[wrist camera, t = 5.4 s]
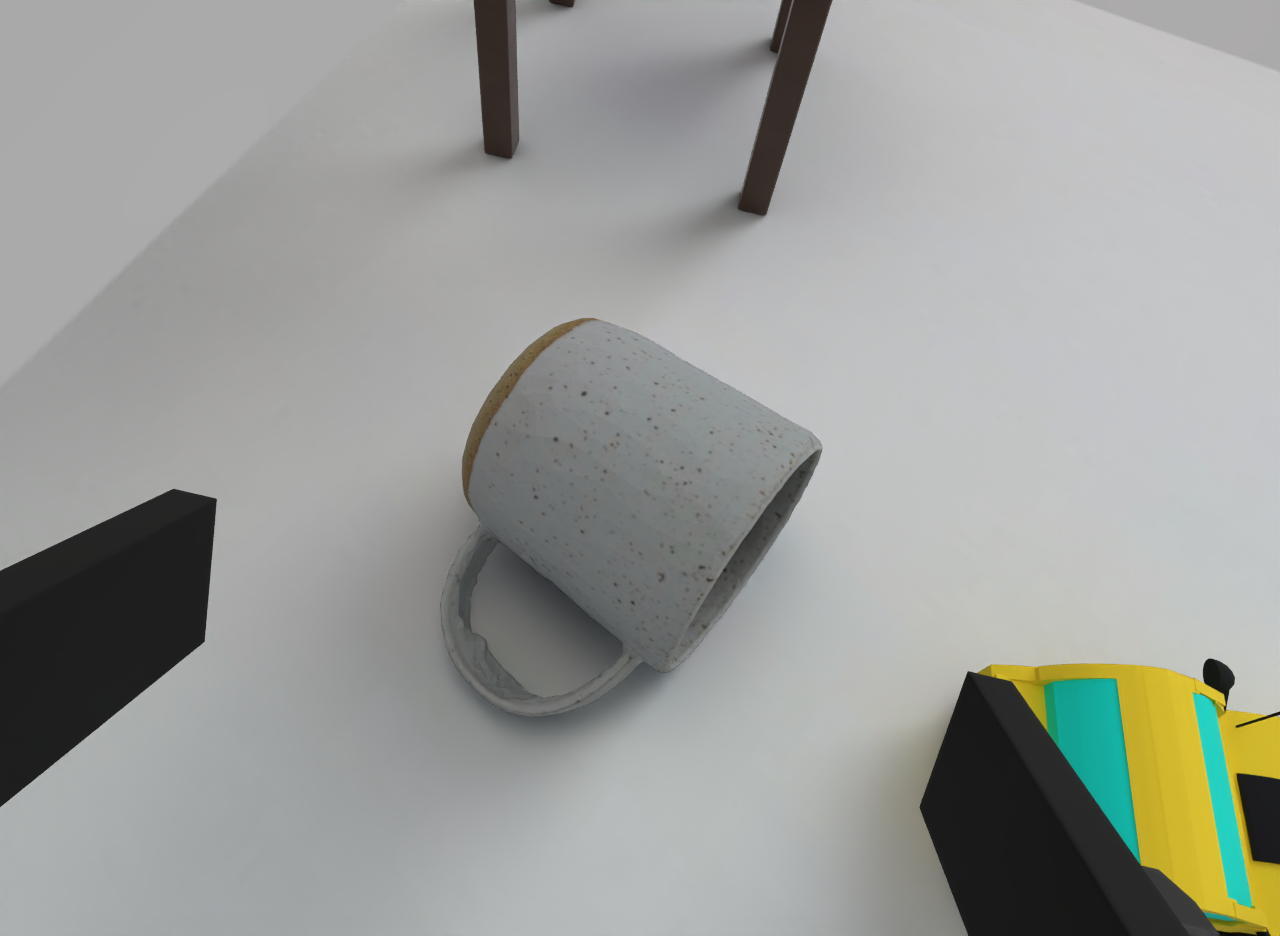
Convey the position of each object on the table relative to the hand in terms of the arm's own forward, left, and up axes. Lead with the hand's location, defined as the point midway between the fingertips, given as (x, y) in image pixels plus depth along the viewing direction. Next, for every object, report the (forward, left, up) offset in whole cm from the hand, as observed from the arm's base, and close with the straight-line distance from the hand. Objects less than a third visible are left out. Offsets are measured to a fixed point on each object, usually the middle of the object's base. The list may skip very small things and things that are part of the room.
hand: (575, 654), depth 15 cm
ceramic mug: (0, +6, -11) cm, 13 cm away
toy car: (+17, +2, -11) cm, 20 cm away
